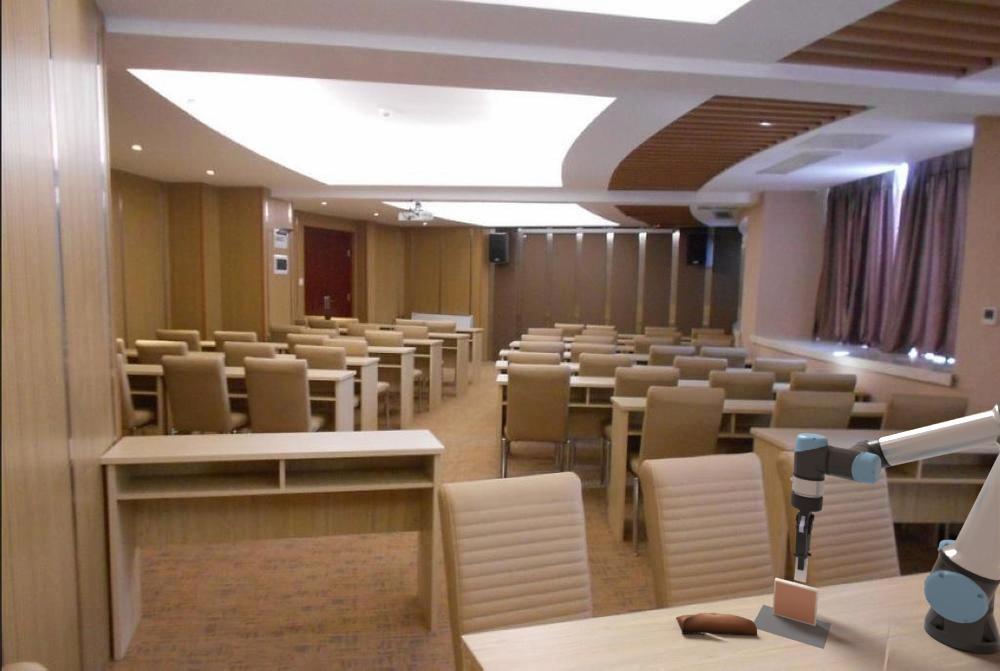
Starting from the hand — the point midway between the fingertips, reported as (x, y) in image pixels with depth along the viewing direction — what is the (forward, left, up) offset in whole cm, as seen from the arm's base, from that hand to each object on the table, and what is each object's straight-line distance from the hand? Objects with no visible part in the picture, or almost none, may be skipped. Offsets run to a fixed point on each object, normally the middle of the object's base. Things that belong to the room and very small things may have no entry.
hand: (800, 580), depth 169 cm
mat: (0, +13, -7) cm, 15 cm away
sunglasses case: (+15, +25, -8) cm, 30 cm away
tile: (0, +9, -7) cm, 11 cm away
